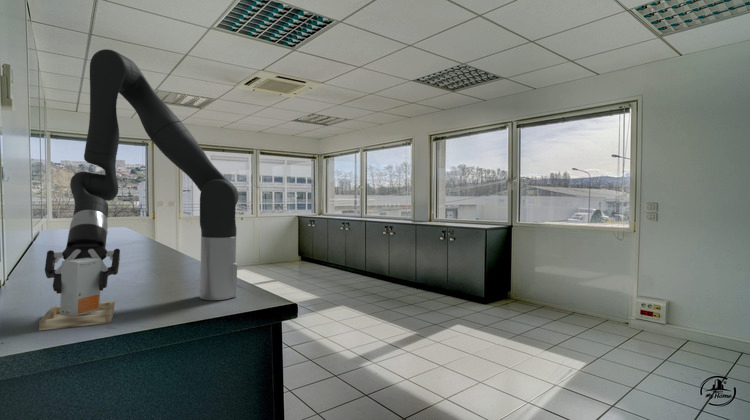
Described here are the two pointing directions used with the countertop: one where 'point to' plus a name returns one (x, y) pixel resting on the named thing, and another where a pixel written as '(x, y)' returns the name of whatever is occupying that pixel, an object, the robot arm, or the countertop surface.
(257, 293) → the countertop surface
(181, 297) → the countertop surface
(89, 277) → the skincare box
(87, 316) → the holder
